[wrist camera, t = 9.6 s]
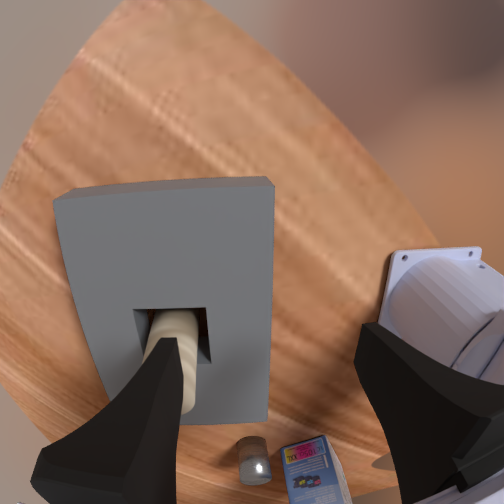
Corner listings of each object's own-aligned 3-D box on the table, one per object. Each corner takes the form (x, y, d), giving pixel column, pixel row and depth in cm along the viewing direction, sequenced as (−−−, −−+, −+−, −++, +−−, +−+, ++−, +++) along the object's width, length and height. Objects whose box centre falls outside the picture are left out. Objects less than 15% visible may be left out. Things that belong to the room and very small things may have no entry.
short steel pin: (266, 434, 28) (272, 471, 24) (265, 449, 29) (271, 483, 25) (236, 437, 28) (239, 473, 24) (237, 451, 29) (240, 486, 25)
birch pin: (198, 292, 21) (192, 378, 14) (200, 328, 22) (197, 416, 15) (154, 292, 21) (130, 376, 13) (159, 328, 22) (141, 414, 15)
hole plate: (266, 176, 19) (274, 186, 16) (262, 394, 26) (267, 421, 23) (73, 188, 18) (52, 200, 15) (125, 396, 24) (119, 422, 22)
